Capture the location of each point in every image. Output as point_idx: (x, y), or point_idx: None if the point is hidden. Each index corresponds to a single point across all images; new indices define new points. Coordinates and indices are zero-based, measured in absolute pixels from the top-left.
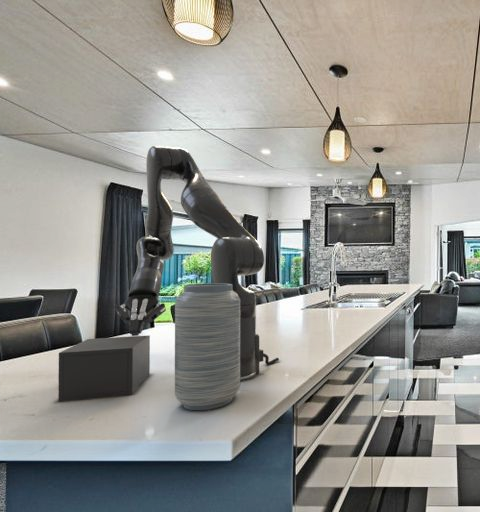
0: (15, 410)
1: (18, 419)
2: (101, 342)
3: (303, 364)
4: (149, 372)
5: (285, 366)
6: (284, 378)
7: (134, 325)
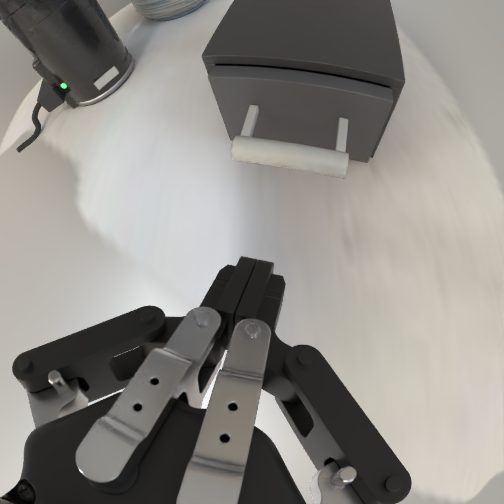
0: (415, 55)
1: None
2: (336, 18)
3: (17, 122)
4: None
5: None
6: None
7: (251, 283)
